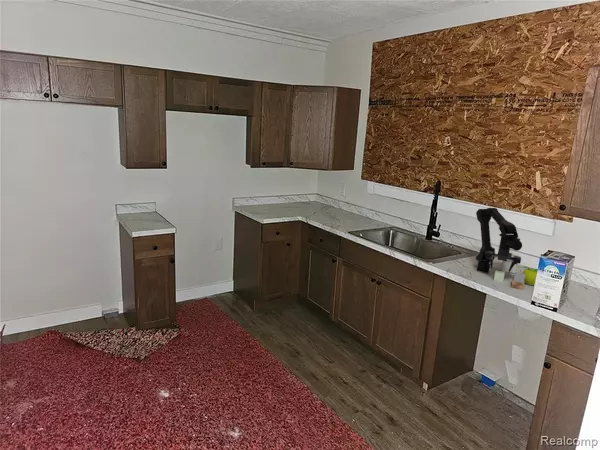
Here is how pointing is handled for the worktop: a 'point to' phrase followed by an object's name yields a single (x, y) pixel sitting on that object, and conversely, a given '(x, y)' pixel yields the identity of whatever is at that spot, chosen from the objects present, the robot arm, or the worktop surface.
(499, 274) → the sage cube
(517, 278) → the tower mid
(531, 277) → the fruit
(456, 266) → the worktop surface
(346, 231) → the worktop surface
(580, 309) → the worktop surface
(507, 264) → the supplement box
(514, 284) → the tower base
